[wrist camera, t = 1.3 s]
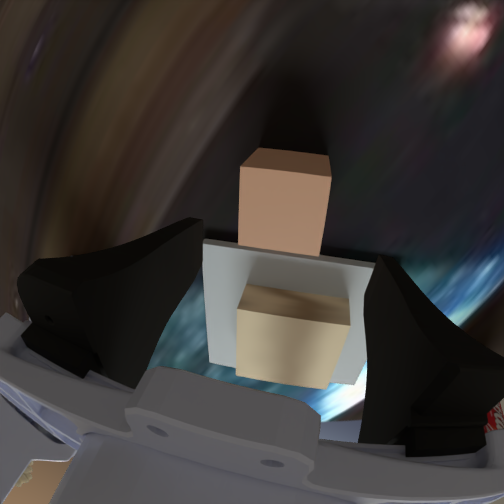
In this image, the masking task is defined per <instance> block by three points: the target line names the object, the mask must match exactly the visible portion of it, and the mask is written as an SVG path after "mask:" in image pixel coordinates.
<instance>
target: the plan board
mask: <svg viewBox="0 0 504 504" xmlns="http://www.w3.org/2000/svg"><path fill="white" fill-rule="evenodd" d="M202 263H203V281H204V296H205V311H206V324H207V337H208V349H209V360H210V362H211V363H215V364H220V365H225V366H229V367H234V368H236V333H237V307H238V304H239V302H240V299H241V296H242V294H243V291H244V288H245V286H246V284H252V285H258V286H264V287H271V288H277V289H284V290H290V291H297V292H304V293H311V294H318V295H325V296H332V297H339V298H346V299H349V306H350V322H351V327H350V329H349V332H348V335H347V338H346V341H345V343H344V346H343V349H342V351H341V354H340V357H339V359H338V362H337V364H336V367H335V369H334V372H333V374H332V377H331V379H330V382H329V383H339V384H349V385H354V384H355V382H356V380H357V378H358V376H359V374H360V372H361V370H362V368H363V366H364V364H365V362H366V360H367V351H366V339H365V328H364V317H363V307H364V293H365V290H366V288H367V285H368V283H369V280H370V277H371V275H372V272H373V269H374V266H375V264H376V263H372V262H365V261H358V260H352V259H345V258H338V257H331V256H324V255H319V257H318V256H311V255H304V254H297V253H290V252H283V251H276V250H269V249H262V248H255V247H248V246H241V245H238V243H234V242H227V241H219V240H212V239H204V241H203V262H202Z"/></svg>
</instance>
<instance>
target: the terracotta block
mask: <svg viewBox="0 0 504 504" xmlns="http://www.w3.org/2000/svg"><path fill="white" fill-rule="evenodd" d="M331 178H332V177H331V169H330V163H329V156H326V155H319V154H311V153H304V152H295V151H287V150H277V149H267V148H258V149H257V150H256V151H255V152H254V153H253V154H252V155H251V156H250V157H249V158H248V159H247V160H246V161H245V162H244V163H243V164H242V165H241V166H240V193H239V229H238V245H241V246H248V247H255V248H262V249H269V250H276V251H283V252H290V253H297V254H304V255H311V256H318V257H319V253H320V247H321V242H322V236H323V230H324V224H325V218H326V212H327V205H328V199H329V192H330V185H331Z"/></svg>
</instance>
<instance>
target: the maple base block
mask: <svg viewBox="0 0 504 504" xmlns="http://www.w3.org/2000/svg"><path fill="white" fill-rule="evenodd" d="M350 327H351V322H350V306H349V299H346V298H339V297H332V296H325V295H318V294H311V293H304V292H297V291H290V290H284V289H277V288H271V287H264V286H258V285H252V284H246V286H245V288H244V291H243V294H242V296H241V299H240V302H239V304H238V307H237V333H236V375H237V376H242V377H248V378H253V379H258V380H264V381H270V382H276V383H282V384H289V385H295V386H302V387H310V388H318V389H327V386H328V384H329V382H330V379H331V377H332V374H333V372H334V369H335V367H336V364H337V362H338V359H339V357H340V354H341V351H342V349H343V346H344V343H345V341H346V338H347V335H348V332H349V329H350Z"/></svg>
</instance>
